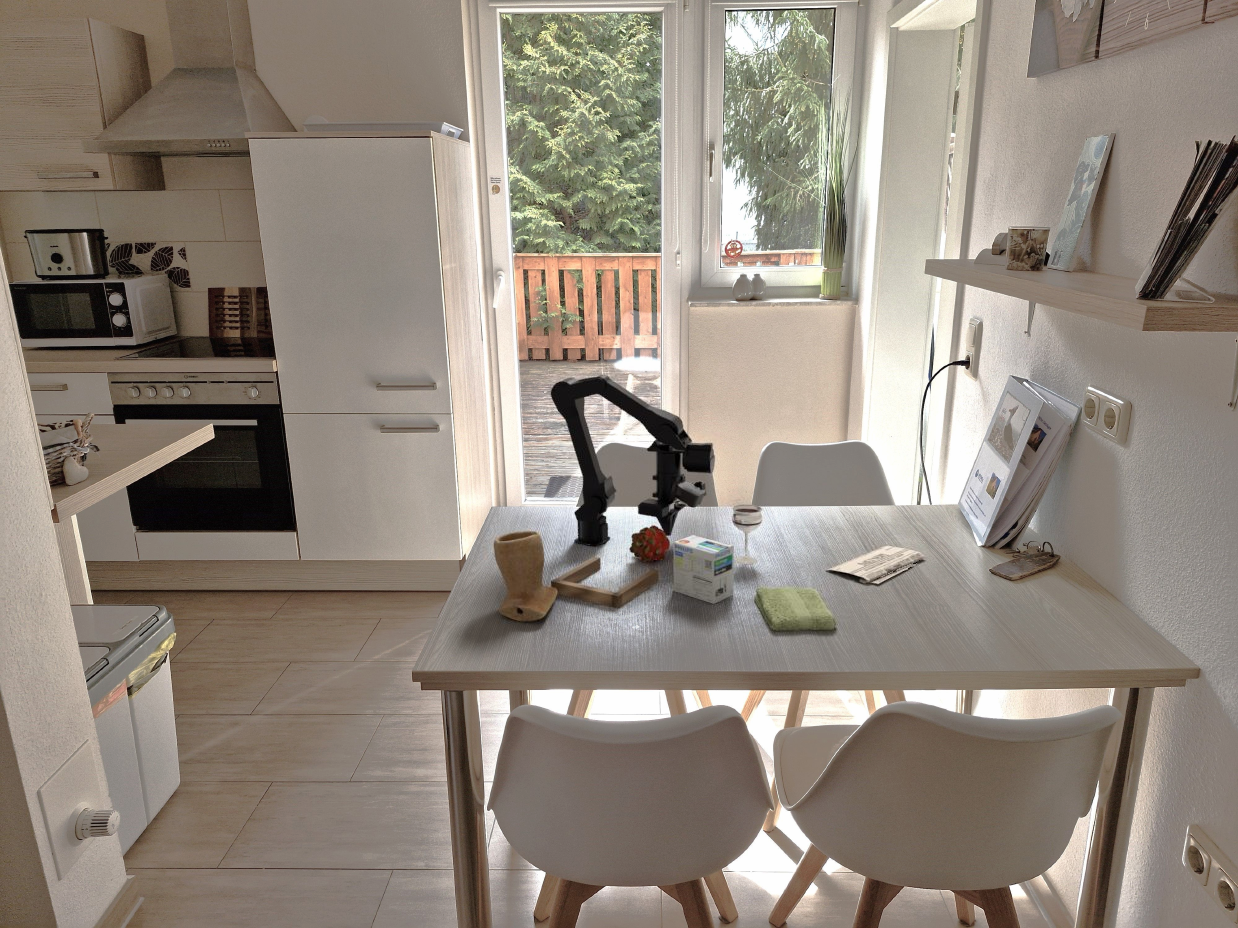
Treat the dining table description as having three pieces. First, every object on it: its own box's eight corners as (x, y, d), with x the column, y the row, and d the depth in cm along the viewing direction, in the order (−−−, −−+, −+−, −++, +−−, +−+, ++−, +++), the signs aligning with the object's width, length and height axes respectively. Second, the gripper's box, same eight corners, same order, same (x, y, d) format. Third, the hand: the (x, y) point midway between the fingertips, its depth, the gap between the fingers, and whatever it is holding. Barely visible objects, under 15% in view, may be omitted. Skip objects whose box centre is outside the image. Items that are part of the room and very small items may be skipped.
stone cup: (506, 591, 180) (503, 522, 176) (563, 595, 178) (561, 524, 174) (483, 622, 166) (479, 547, 162) (544, 626, 164) (541, 550, 160)
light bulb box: (734, 595, 177) (735, 544, 174) (714, 605, 172) (714, 553, 170) (692, 582, 184) (693, 533, 181) (672, 591, 179) (672, 541, 177)
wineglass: (760, 555, 199) (761, 504, 196) (762, 565, 193) (763, 513, 190) (730, 554, 200) (731, 503, 197) (731, 565, 193) (732, 513, 190)
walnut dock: (551, 592, 179) (550, 581, 179) (594, 567, 193) (594, 556, 192) (618, 608, 171) (618, 596, 171) (658, 580, 185) (658, 569, 184)
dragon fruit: (639, 576, 192) (652, 565, 203) (671, 556, 189) (682, 546, 201) (618, 543, 192) (632, 534, 204) (649, 523, 190) (661, 514, 202)
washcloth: (815, 595, 177) (816, 581, 176) (839, 633, 160) (840, 617, 159) (751, 597, 177) (751, 582, 176) (767, 635, 160) (768, 619, 159)
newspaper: (875, 590, 180) (874, 578, 180) (826, 579, 190) (825, 568, 189) (934, 562, 195) (934, 552, 194) (886, 554, 204) (885, 543, 204)
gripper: (681, 484, 189) (681, 553, 192) (717, 465, 204) (716, 529, 208) (636, 478, 194) (636, 545, 198) (675, 460, 210) (674, 522, 213)
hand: (668, 535), depth 204 cm, fingers closed
